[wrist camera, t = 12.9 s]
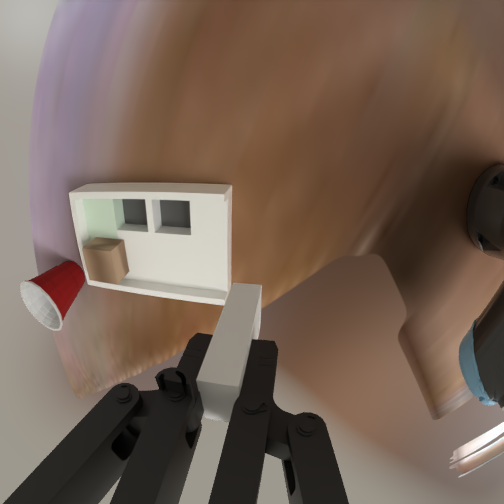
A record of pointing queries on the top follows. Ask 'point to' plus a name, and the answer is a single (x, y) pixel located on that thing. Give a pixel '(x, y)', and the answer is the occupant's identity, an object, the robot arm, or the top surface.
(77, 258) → the top surface
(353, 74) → the top surface
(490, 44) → the top surface
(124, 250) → the walnut block
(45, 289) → the plastic cup
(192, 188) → the box
